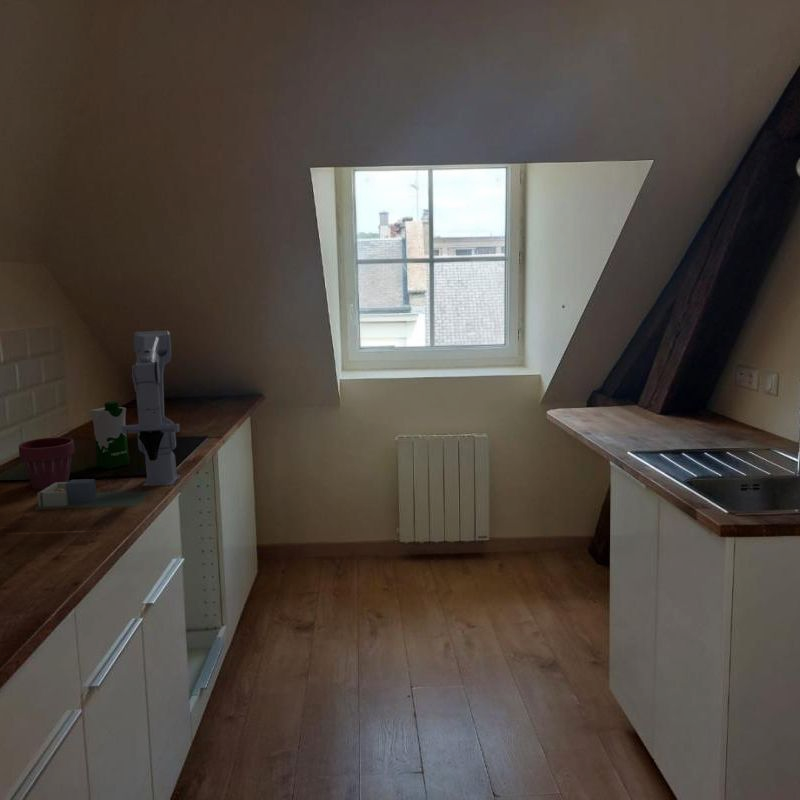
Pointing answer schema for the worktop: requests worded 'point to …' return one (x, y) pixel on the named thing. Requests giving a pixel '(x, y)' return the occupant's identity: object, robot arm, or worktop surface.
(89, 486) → the block
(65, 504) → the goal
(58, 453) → the plant pot
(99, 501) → the pitch mat
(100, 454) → the milk carton
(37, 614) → the worktop surface
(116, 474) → the worktop surface
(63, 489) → the ball
